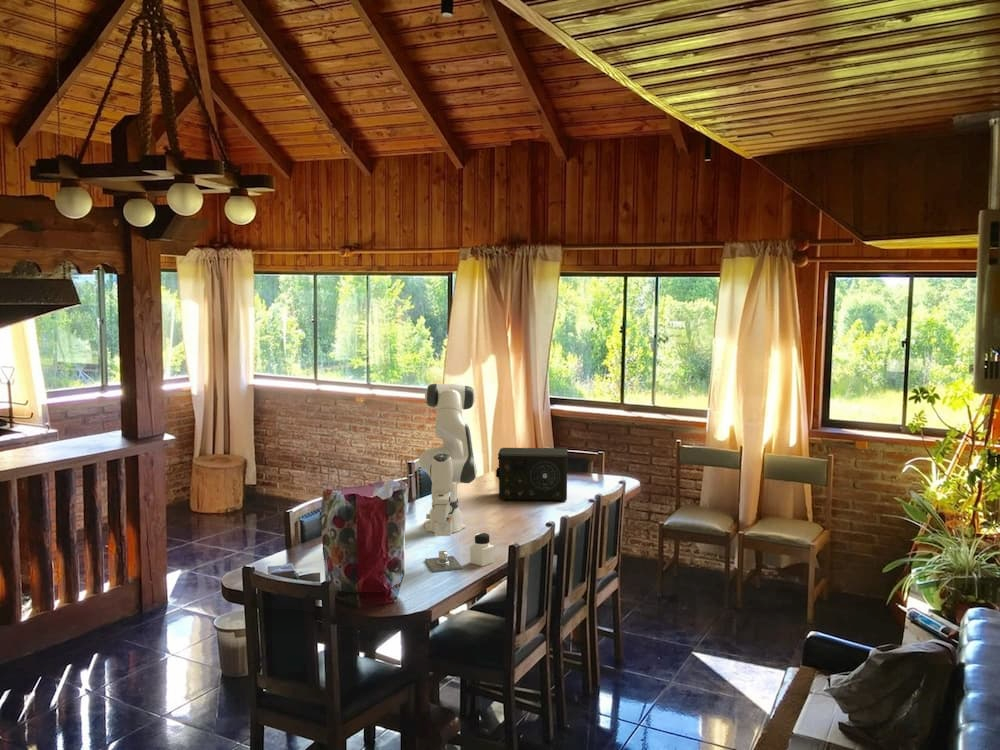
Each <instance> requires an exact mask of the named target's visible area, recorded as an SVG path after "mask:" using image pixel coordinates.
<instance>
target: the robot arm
mask: <svg viewBox="0 0 1000 750" xmlns="http://www.w3.org/2000/svg"><path fill="white" fill-rule="evenodd" d="M474 390H475V389H474V388H473V387H472V386H470V385H469V386H468V385H463V384H456V383H455V384H454V383H451V384H450V383H442V384H441V383H438V384H437V383H432V384H429V385H428V386H427V388H426V389H425V393H424V400H425V402H426V404H427V406H429V407H430V408H436V411H435V422H434V423H435V425H434V434H435V435H436V437H437V438H438V439H440V440H442V445H441V446H437V447H433V448H429V449H426V450H423V451H422V452H421V453H420V455H419V457H418V458H419V459H418V463H419V466H420V468H421V470H422V471H423V472H425V473H426V474H427V475H428V476H429V478H430V481H431V500H432V502H431V509H430V510H429V513H426V514H425V517H426V520H425V521H424V529H425V532H428V533H430V532H431V533H435V525H434V521H435V519H436V523H439V526H440V531H441V532H443V531H444V530H445V526H444V523H445V521H446V519H447V517H452V533H451V534H453V533H457V532H459V531H461V530H463V529H465V528H466V525H465V524H464V523H463V518H462V515H463V513H462V510H461V509H460V508H459V498H458V484H457V483H461V484H470V483H472V482H474V480H475V479H476V478H477V473H478V470H477V465H476V462H475V458H474V449H473V442H472V435H471V430H470V427H469V425H468V424H467V423H465V422H464V419H463V411H465V410H470V409H471V408H472V407H473V405H474V404H475V401H476V393H475V391H474Z"/></svg>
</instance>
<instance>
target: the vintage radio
mask: <svg viewBox="0 0 1000 750" xmlns="http://www.w3.org/2000/svg"><path fill="white" fill-rule="evenodd" d="M568 451H569V450H568V449H567V448H565V447H560V448H557V447H556V448H555V447H554V448H553V447H552V448H551V447H501V448H499V451H498V454H497V456H498V457H497V460H498V467H497V468H496V470H495V473H496V474H495V476H496V478H497V479H498V498H499V500H502V501H505V502H506V501H508V500H519V501H520V500H523V501H524V500H528V501H531V500H533V501H557V502H562V503H563V501H567V500H568V455H569V454H568Z"/></svg>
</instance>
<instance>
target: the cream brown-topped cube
mask: <svg viewBox="0 0 1000 750" xmlns="http://www.w3.org/2000/svg"><path fill="white" fill-rule="evenodd" d="M434 525H435V532H434V537H451V536H452V534H453V533H452V517H447V519H446V521H445V523H444V526H445V530H444V531H443V532H441V531H440V526H439V523H436V519H435V521H434Z"/></svg>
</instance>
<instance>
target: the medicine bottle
mask: <svg viewBox="0 0 1000 750" xmlns="http://www.w3.org/2000/svg"><path fill="white" fill-rule="evenodd" d="M469 548H470V549H469V551H470V553H469V554H470V557H469V558H470V560H469V561H470V563H471V564H474V565H476V566H477V565H478V566H481V567H485V566H487V565H490V564H493V563H494V562H495V546H494V545H493V544H490V534H489V533H486V532H478V533H476V534H475V535H474V544H473V545H470V547H469Z"/></svg>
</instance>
